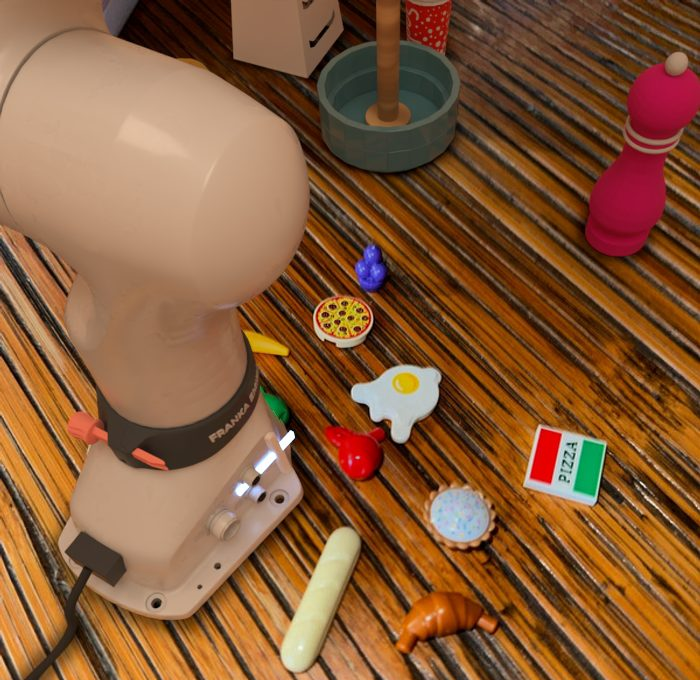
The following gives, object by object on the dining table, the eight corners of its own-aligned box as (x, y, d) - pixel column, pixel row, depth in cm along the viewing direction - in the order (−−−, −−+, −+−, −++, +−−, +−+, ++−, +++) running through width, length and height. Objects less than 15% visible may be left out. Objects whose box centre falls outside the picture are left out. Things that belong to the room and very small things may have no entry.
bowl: (418, 194, 84) (420, 148, 78) (297, 151, 88) (291, 105, 82) (477, 109, 90) (483, 62, 85) (361, 73, 94) (359, 26, 89)
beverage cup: (398, 45, 96) (399, -77, 84) (446, 40, 96) (455, -83, 84) (405, 75, 93) (408, -46, 81) (454, 70, 93) (465, -52, 81)
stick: (397, 144, 86) (399, 13, 73) (357, 131, 88) (352, -1, 75) (418, 117, 88) (423, -16, 75) (378, 104, 90) (377, -28, 77)
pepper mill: (649, 265, 78) (727, 86, 60) (577, 256, 78) (633, 78, 61) (651, 214, 81) (725, 30, 63) (581, 206, 82) (635, 23, 64)
